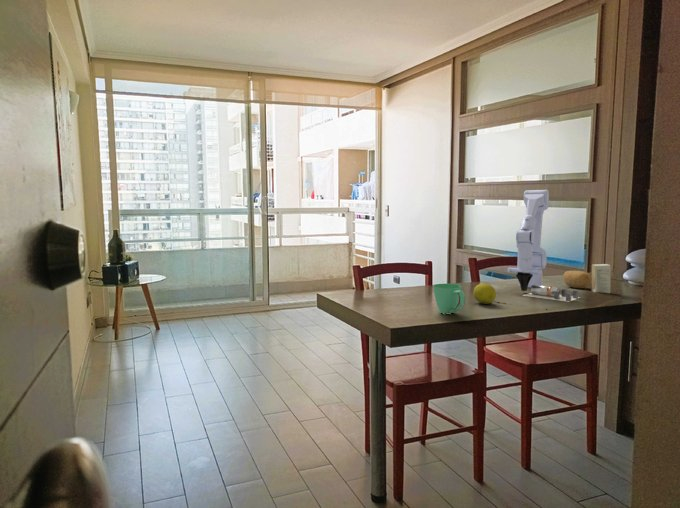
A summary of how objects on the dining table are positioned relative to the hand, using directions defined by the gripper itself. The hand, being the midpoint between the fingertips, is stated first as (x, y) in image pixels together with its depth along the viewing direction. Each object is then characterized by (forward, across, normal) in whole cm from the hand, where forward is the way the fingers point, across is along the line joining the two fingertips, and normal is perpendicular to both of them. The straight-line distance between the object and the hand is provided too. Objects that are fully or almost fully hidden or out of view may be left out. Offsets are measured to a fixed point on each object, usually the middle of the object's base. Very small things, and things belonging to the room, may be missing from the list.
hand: (524, 290), depth 211 cm
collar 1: (+2, +15, 0) cm, 15 cm away
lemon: (+2, -3, -26) cm, 26 cm away
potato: (+2, +10, +29) cm, 31 cm away
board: (+2, +11, 0) cm, 11 cm away
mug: (+2, -2, -50) cm, 50 cm away
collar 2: (+2, +20, 0) cm, 20 cm away
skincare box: (+2, +22, +24) cm, 33 cm away
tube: (+1, +9, 0) cm, 9 cm away
